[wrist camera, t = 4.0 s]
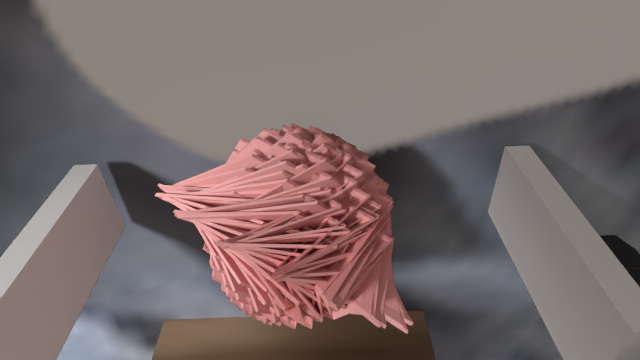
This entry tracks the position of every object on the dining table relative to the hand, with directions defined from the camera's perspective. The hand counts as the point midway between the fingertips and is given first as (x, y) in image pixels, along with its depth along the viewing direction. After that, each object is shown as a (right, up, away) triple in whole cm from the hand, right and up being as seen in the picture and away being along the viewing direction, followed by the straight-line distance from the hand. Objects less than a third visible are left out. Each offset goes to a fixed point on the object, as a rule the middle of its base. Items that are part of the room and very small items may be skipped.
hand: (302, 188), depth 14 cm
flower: (0, +1, +1) cm, 1 cm away
